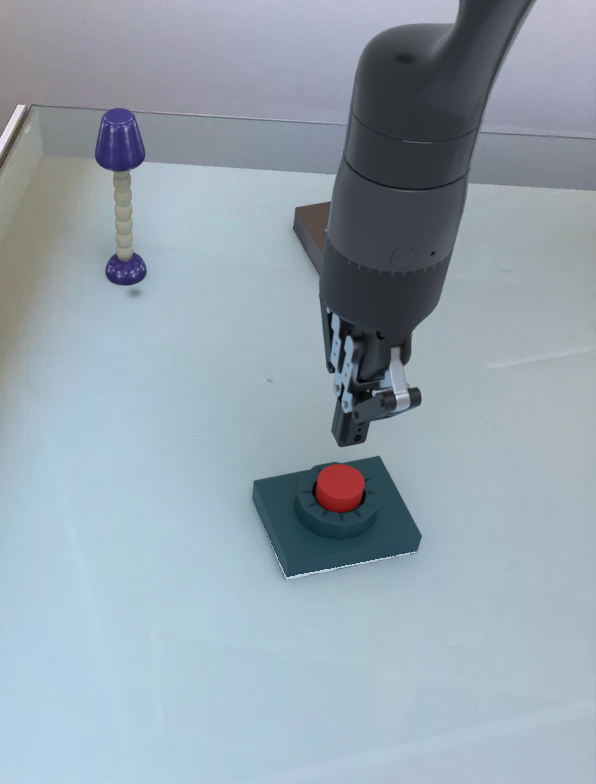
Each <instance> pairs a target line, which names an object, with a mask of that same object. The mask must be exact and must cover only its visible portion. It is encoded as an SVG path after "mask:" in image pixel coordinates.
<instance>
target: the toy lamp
mask: <svg viewBox="0 0 596 784" xmlns="http://www.w3.org/2000/svg"><path fill="white" fill-rule="evenodd" d="M94 158H95V161H96V163H97V164H98V165H99V166H100V167H102V169H104V170H107V171H111V172H112V173H113V176H112V185H113V188H114V191H113V199H114V203H115V204H114V209H113V210H114V215H115V219H114V229H115V231H116V232H115V242H116V248H115V253H114V254H113V255H112V256H110V258H109V259H108V260H107V263H106V265H105V275H106V277H107V279H108V280H109V281H110V282H112V283H114V284H117V285H124V286H126V285H127V286H128V285H129V286H130V285H133V284H136V283H139V282H141V281H142V280H143V279H144V278H145V277H146V275H147V266H146V262H145V261H144V259H143V257H142V256H141V255H140V254H138V253H136V252H135V251H134V246H133V242H134V241H133V240H134V236H133V231H132V230H133V225H134V222H133V221H134V220H133V218H132V215H133V204H132V202H131V201H132V198H133V193H132V189H131V186H132V176H131V174H130V172H131V170H134V169H136V168H138V167H140V166H141V165H142V164H143V162H144V161H145V159H146V149H145V144H144V140H143V138H142V134H141V131H140V128H139V124H138V121H137V118H136V116H135V114H134V113H133V112H132V110H129V109H128V108H124V107H114V108H110V109H108V110H106V111H105V112H104V113H103V115H102V116H101V119H100V124H99V129H98V135H97V139H96V143H95V149H94Z"/></svg>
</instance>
